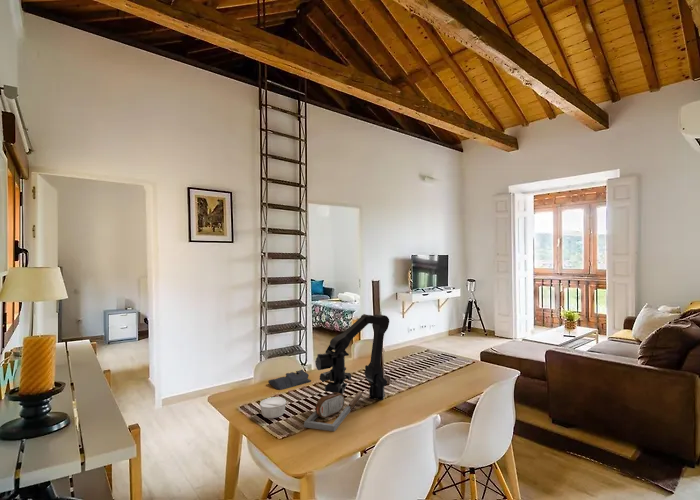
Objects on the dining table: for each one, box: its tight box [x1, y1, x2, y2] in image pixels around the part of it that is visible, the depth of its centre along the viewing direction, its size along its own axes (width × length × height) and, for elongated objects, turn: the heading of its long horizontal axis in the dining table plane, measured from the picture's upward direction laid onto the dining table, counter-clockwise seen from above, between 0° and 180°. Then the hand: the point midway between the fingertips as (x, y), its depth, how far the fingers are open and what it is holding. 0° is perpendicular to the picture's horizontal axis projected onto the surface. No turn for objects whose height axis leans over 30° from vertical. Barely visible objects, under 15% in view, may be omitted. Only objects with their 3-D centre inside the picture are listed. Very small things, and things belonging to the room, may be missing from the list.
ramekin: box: [259, 396, 287, 419], centre depth 164 cm, size 11×11×5 cm
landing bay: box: [303, 405, 351, 432], centre depth 158 cm, size 13×20×2 cm, turn 162°
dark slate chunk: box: [267, 369, 312, 391], centre depth 204 cm, size 15×22×5 cm
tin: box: [314, 392, 345, 419], centre depth 162 cm, size 15×3×8 cm, turn 134°
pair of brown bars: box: [333, 391, 363, 410], centre depth 177 cm, size 13×16×2 cm
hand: (339, 400), depth 170 cm, fingers closed
